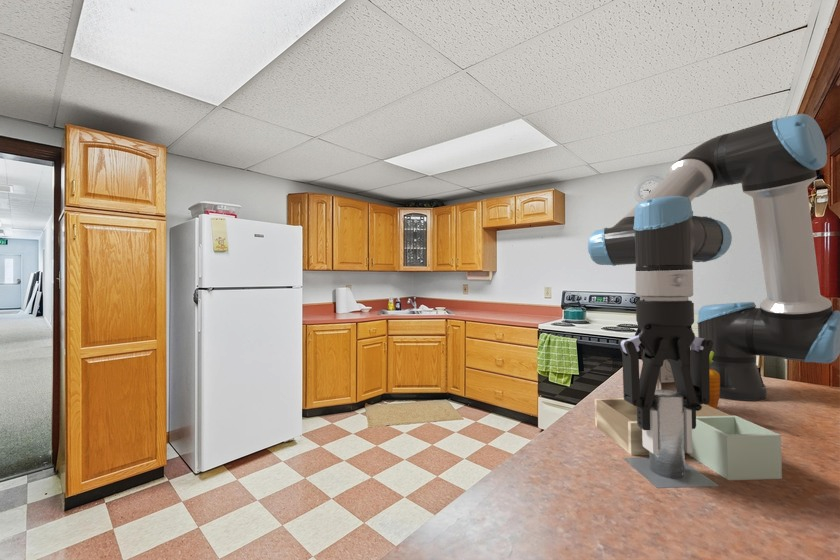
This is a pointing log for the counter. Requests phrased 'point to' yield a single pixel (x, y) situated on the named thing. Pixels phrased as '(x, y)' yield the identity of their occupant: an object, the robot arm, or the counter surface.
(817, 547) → the counter surface
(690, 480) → the coaster
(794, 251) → the robot arm
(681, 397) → the tin can
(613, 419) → the crate
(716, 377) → the carrot
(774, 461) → the square storage bin
